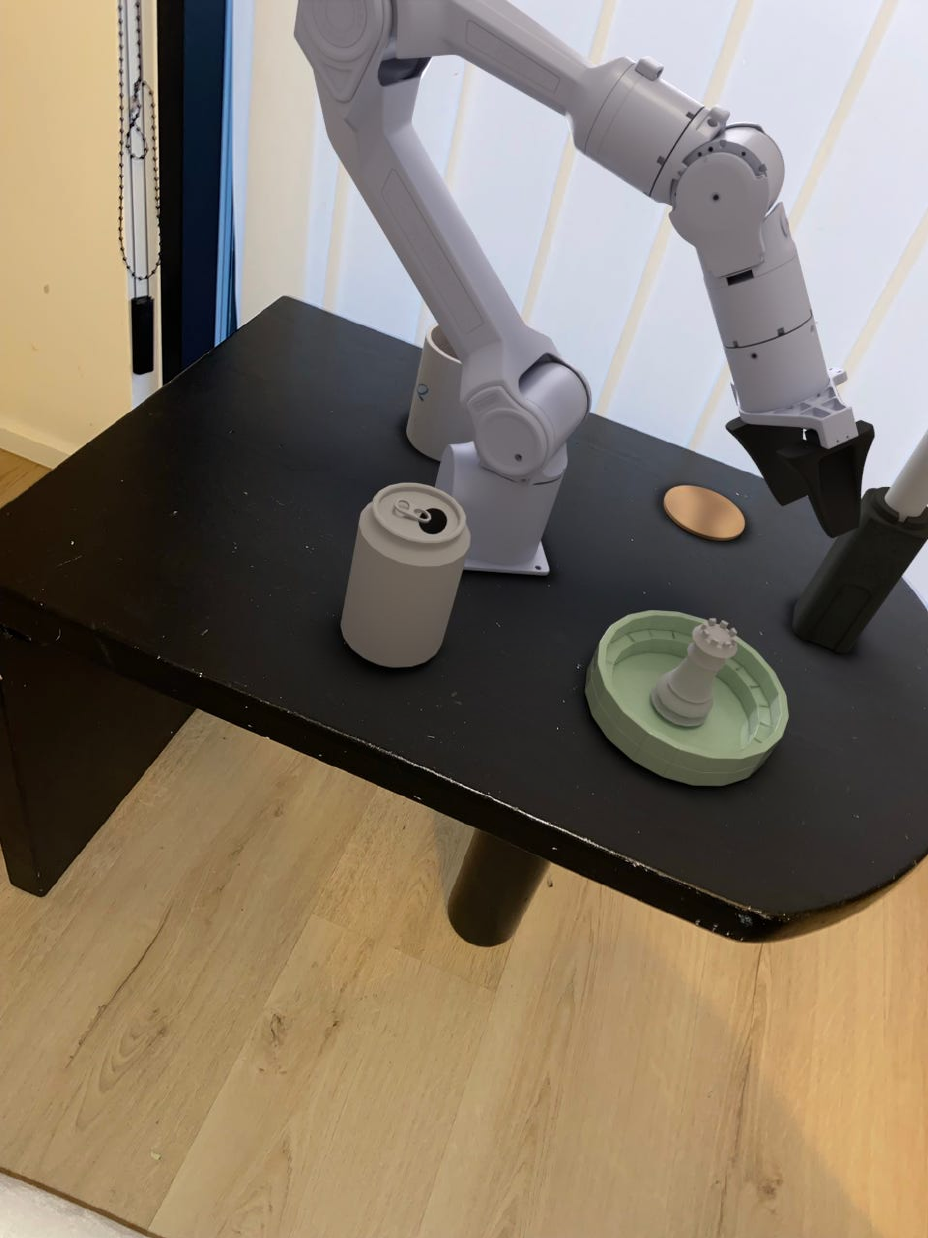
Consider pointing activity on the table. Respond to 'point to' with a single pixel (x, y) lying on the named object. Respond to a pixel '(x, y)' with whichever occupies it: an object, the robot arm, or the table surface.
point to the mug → (437, 399)
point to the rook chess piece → (695, 676)
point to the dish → (692, 755)
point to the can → (404, 574)
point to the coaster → (704, 513)
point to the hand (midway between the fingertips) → (817, 514)
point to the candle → (867, 559)
